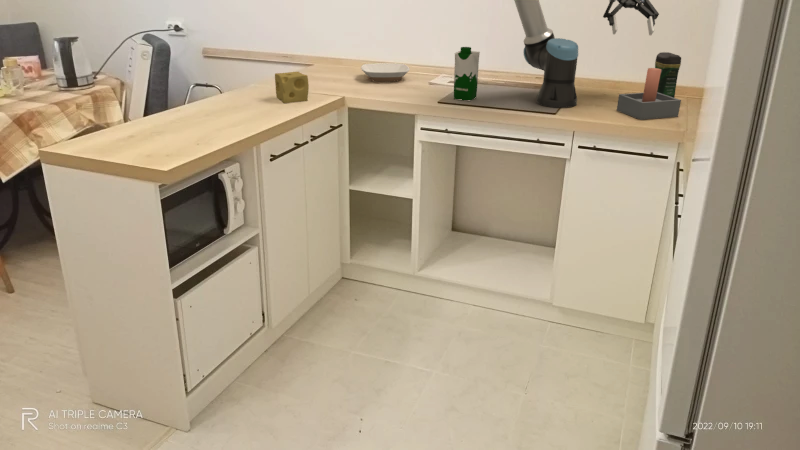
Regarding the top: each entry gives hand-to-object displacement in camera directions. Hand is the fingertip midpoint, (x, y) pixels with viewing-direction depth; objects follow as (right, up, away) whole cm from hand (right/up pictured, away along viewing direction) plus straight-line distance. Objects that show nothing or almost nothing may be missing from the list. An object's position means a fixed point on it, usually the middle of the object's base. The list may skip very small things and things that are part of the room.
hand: (633, 32), depth 234 cm
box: (+4, -30, -2) cm, 30 cm away
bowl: (-93, -6, +51) cm, 106 cm away
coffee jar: (+17, -22, +16) cm, 32 cm away
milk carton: (-60, -21, +18) cm, 66 cm away
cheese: (-128, -22, +14) cm, 131 cm away
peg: (+4, -30, -2) cm, 30 cm away
